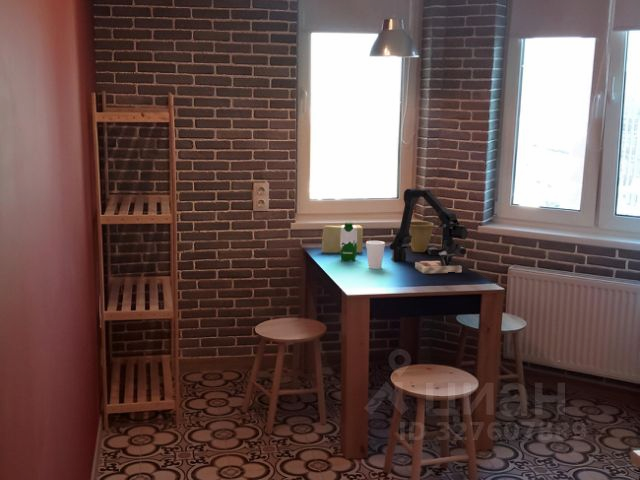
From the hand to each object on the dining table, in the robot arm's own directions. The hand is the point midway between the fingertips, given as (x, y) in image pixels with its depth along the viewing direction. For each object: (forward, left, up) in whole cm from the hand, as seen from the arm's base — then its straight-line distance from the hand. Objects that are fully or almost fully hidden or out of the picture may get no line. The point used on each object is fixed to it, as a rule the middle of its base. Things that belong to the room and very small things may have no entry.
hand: (446, 267), depth 390 cm
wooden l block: (-4, +1, -1) cm, 5 cm away
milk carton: (-43, +32, -1) cm, 54 cm away
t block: (-7, +1, -1) cm, 7 cm away
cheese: (-42, +53, -2) cm, 68 cm away
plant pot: (+2, +49, -1) cm, 49 cm away
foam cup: (-34, +11, -1) cm, 36 cm away
